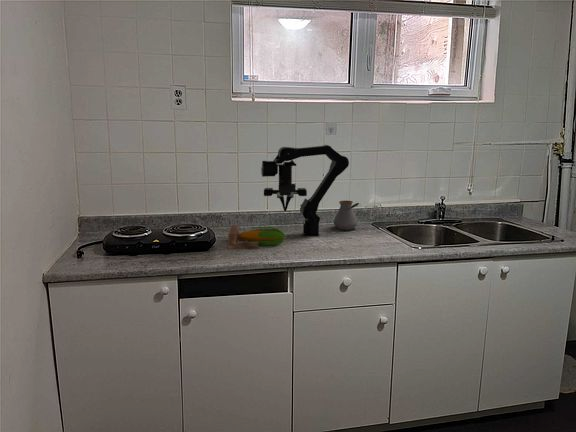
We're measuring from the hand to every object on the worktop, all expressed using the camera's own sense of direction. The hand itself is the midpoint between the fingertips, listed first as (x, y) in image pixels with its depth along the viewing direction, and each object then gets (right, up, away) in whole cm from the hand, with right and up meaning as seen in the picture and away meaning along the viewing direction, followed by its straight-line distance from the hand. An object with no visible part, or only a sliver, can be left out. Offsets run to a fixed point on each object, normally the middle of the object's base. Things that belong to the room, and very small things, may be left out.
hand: (285, 211), depth 215 cm
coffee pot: (+30, -9, +12) cm, 33 cm away
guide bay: (-17, -14, -12) cm, 25 cm away
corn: (-10, -14, -12) cm, 21 cm away
